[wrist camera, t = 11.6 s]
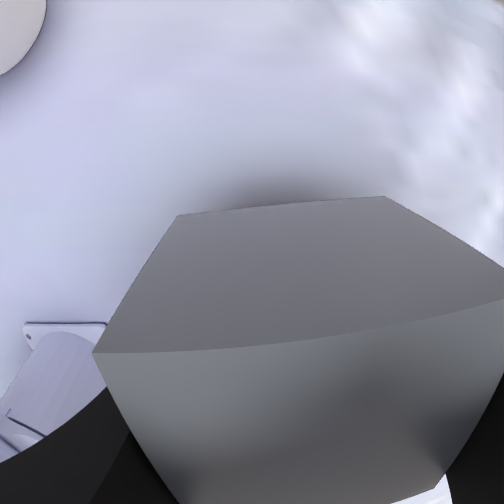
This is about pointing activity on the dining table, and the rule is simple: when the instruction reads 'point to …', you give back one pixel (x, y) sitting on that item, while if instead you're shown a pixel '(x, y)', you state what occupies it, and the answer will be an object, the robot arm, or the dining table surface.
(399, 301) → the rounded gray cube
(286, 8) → the dining table surface
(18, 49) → the cup
